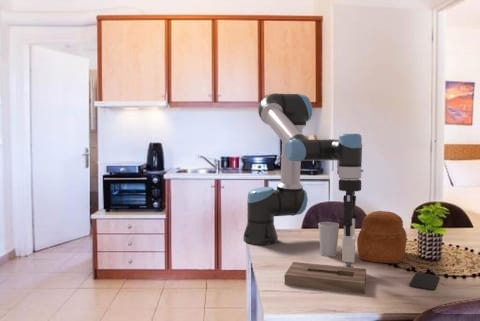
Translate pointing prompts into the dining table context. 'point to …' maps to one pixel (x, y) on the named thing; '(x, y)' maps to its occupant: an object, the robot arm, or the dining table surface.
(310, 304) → the dining table surface
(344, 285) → the keyhole board
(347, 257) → the keyhole peg
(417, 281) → the phone
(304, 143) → the robot arm
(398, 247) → the bread
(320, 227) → the cup
